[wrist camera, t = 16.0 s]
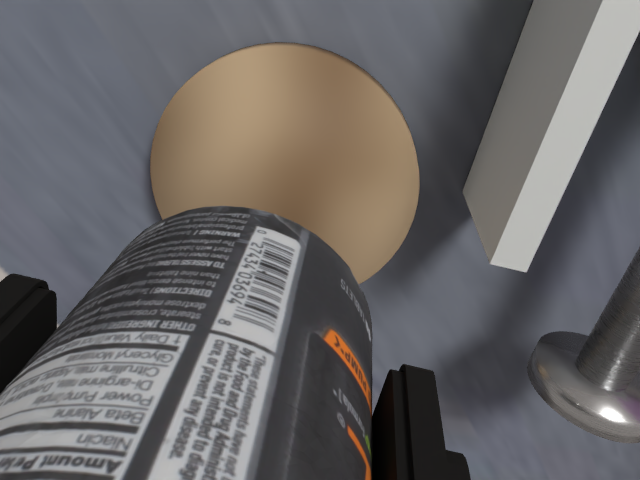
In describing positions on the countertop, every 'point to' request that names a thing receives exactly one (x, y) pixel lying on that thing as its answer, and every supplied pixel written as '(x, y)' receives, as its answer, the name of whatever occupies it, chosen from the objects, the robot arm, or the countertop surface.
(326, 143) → the wooden coaster
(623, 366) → the plunger rod
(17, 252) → the countertop surface
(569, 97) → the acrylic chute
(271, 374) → the pill bottle
